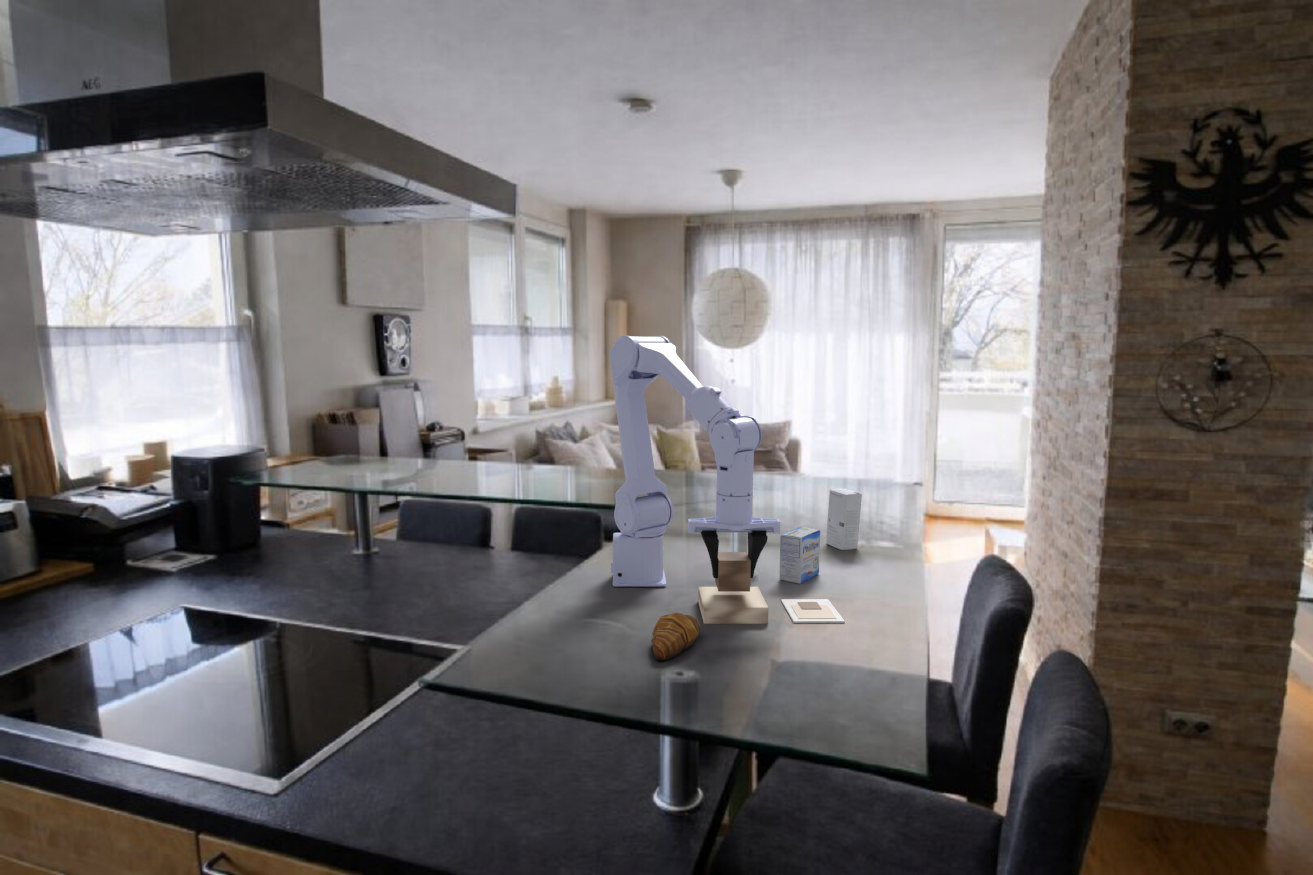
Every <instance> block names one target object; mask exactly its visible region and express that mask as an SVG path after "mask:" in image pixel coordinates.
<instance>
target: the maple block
mask: <svg viewBox="0 0 1313 875" xmlns="http://www.w3.org/2000/svg"><path fill="white" fill-rule="evenodd" d="M697 589H698V591H697V596H698V597H697V598H698V599H697V602H698V607H699V610H700V614H701V618H702V622H703V624H705V625H706V624H708V625H709V624H712V625H713V624H714V625H715V624H716V625H717V624H721V625H722V624H723V625H724V624H725V625H727V624H729V625H731V624H735V625H736V624H741V625H742V624H747V625H748V624H751V625H752V624H753V625H755V624H757V625H758V624H769V605H768V604H767V602H766V600H765V598H764V596H763V594H762V592H761V590H760V588H759V586H750V591H725V592H719V591H718V589H717V586H698V588H697Z"/></svg>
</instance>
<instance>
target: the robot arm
mask: <svg viewBox="0 0 1313 875" xmlns="http://www.w3.org/2000/svg"><path fill="white" fill-rule="evenodd" d="M608 354H609V361H610V362H609V363H610V367H611V369H610V370H611V375H612V386H613V387H612V389H613V394H614V395H613V396H614V403H615V411H616V417H617V424H618V426H617V427H618V432H619V441H620V447H621V448H620V450H621V455H622V463H623V471H624V479H625V481H624V483H623V484H622V485H621V486H620V487H619V488H618V489H617V491H616V492H615V494H614V499H615V506H614V513H613V516H614V522H615V524H616V526H617V529H618V530H619V531H620V532H613V534H612V562H611V563H610V566H611V568H610V570H611V571H610V573H611V574H612V586H613V587H667V579H666V571H664V557H665V556H664V552H665V551H664V549H665V548H664V544H665V543H664V539H665V538H664V536H665V534H664V533H665V532H667V531H668V529H667V527H668V526H669V525H670V524H671V523H672V521H673V518H674V505H673V503H672V501H671V498H670V497H669V493H668V487H667V485H666V484H665V483H663V482H662V481H661V480H659V479H658V478H657V477H656V471H655V464H654V456H653V455H654V454H653V448H652V442H651V441H652V440H651V435H650V434H651V433H650V427H649V419H648V412H647V410H648V409H647V403H646V395H645V391H646V390H647V388H648V387H649V385H650V384H652V383H653V382H654V381H655V380H657V378H659V376H661V378H663V380H665V381H666V382H667V383H668V385H670V386H671V387H672V388H673V389H675V390H676V391H677V392H678V393H679V394H680V395H681V396H682V397H683V398H684V399H685V400H686V410H687V412H688V413H689V414H690V415H691V417H692V418H694V420H696V422H697V423H698V424H700V426H702V427H701V428H703V429H704V431H706V433H708V434H709V436H708V439H709V444H710V447H711V449H712V451H713V452H714V462H715V465H716V493H715V494H716V495H715V496H716V497H715V498H716V499H715V501H716V502H715V504H716V505H715V516H712V517H711V516H710V517H702V518H701V517H700V518H687V533H688V534H696V533H700V535H701V537H702V540H703V542H704V545H705V547H706V550H707V553H708V555H709V559H710V564H711V571H712V575H711V576H712V577H713V579H715V578H718V552H719V545H720V540H719V536H718V533H747V554H748V556H749V558H750V560H751V575H750V579H754V574H755V569H756V565H757V562H758V560H759V558H760V556H761V553H762V552H763V549H764V548H765V546H766V544H767V543H768V538H769V537H768V535H767V533H771V534H775V535H776V534H777V535H781V520H780V519H778V518H763V517H762V518H761V517H753V499H754V498H753V493H754V463H755V462H754V459H755V456H754V455H755V451H756V450H757V449H758V448H759V447H760V446H761V443H762V438H763V432H762V428H761V426H760V424H759V423H758V422H759V421H757V419H756V418H755V417H754V416H752V415H743V414H742V413H740V411H739V409H737V408H736V407H734V406H733V405H732V404H731V403H729V401H728V400H727V399H726V398H725V397H724V396H723V394H722V391H721V389H720V388H719V387H717V386H716V387H714V386H712V385H702V383H701V382H700V381H699V380H698V379H697V377H696V376H695V375H694V373H693V372H692V371H691V370H690V369H689V367H688V366H687V365H686V363H684V362H683V360H682V359H681V358H680V357H679V355H678V354H677V347H676V345H674V344H673V343H672V342H671V341H670V339H669V338H667V337H666V336H664V335H657V336H656V335H655V336H641V335H640V336H638V335H637V336H636V335H635V336H631V335H628V334H627V335H626V334H625V335H620V336H619V337H618V338H617V339H616V340H615V342H614V343H613V345H612V347H611V349H610V350H609V352H608ZM645 494H646V495H645ZM640 495H644V496H640Z"/></svg>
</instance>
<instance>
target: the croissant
mask: <svg viewBox="0 0 1313 875" xmlns="http://www.w3.org/2000/svg"><path fill="white" fill-rule="evenodd" d="M700 630H701V627H700V624H699V620H698V618H697V617H694V616H692V615H688V614H684V613H680V612H673V613H669V614H664V615H662V616H659V619H658V620H657V622H656V624H655V626H654V628H653V630H652V638H651V646H652V652H653V655H654V659H655V660H658V661H666V660H670V658H671V659H672V657H673V658H674V657H676V656H678V655H680V653H682V652H683V651H685V650H687V649H689V648H691V647H692V646H693V645H694V642H696V640H697V638H698V636H699V634H700Z"/></svg>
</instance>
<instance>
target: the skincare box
mask: <svg viewBox="0 0 1313 875" xmlns="http://www.w3.org/2000/svg"><path fill="white" fill-rule="evenodd" d="M862 495H863V494H862V493H860V492H858V491H855V490H852V489H848V488H846V487H840V488H832V489H829V495H828V496H829V498H828V509H827V510H828V511H827V524H826V525H827V526H826V540H825V543H826V544H827V545H829V546H831V547H833V548H835V549H838V550H840V551H849V550H856V549H858V548H859V547H858V546H859V545H858V543H859V534H860V533H859V532H860V521H861V509H862V500H863V499H862V497H863V496H862Z"/></svg>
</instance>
